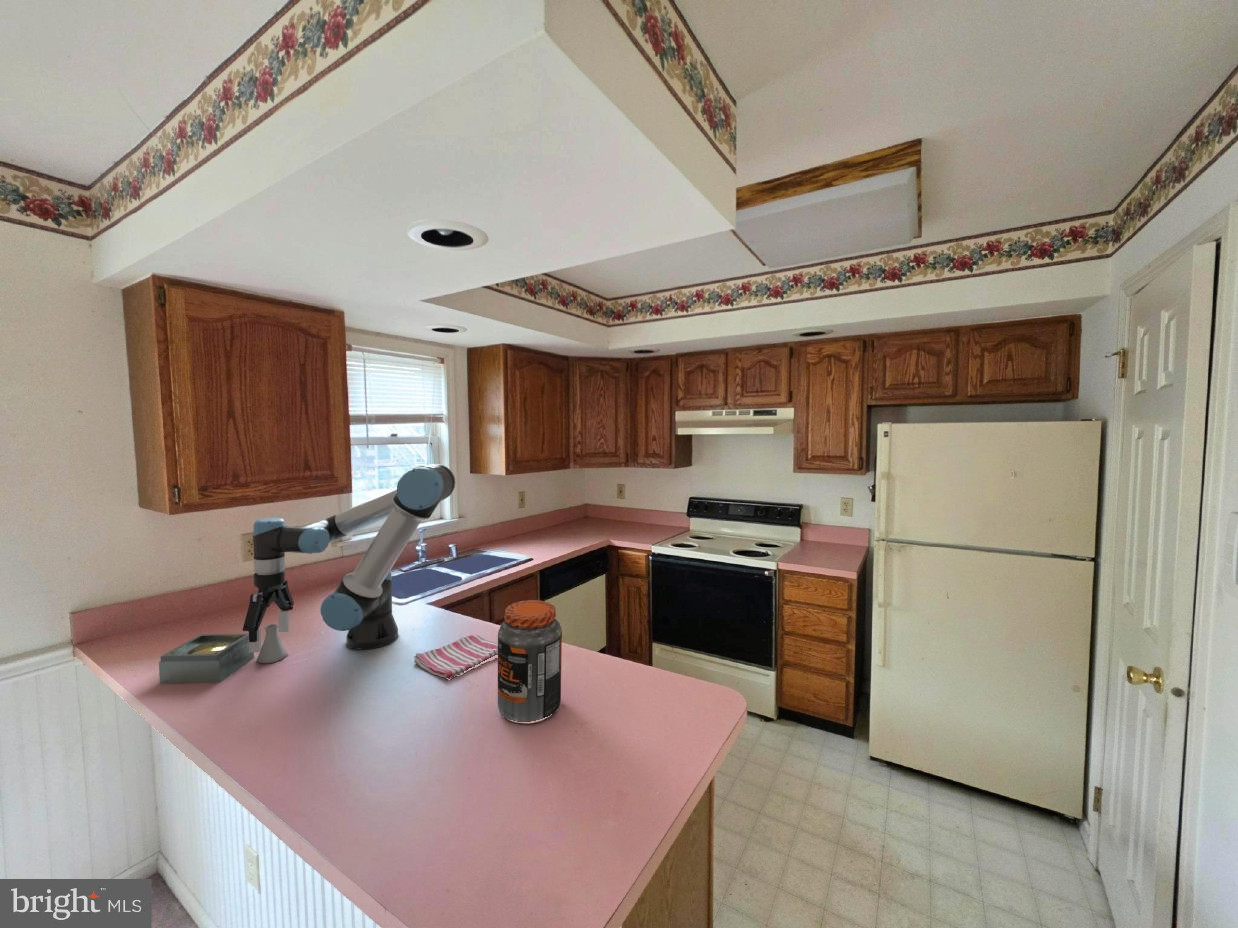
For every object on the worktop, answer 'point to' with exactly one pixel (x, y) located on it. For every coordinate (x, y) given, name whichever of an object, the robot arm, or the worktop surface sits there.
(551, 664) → the supplement tub
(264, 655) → the flask
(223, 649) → the grey boxy piece
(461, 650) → the dish towel
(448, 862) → the worktop surface
